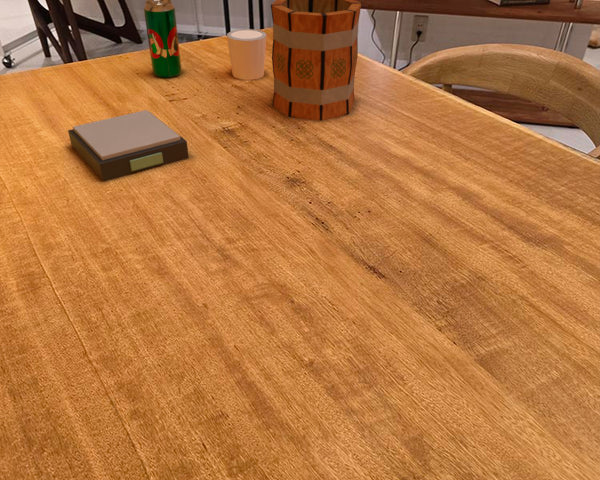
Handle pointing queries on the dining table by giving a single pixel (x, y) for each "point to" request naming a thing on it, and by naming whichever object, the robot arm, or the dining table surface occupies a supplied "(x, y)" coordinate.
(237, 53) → the white cup
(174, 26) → the soda can
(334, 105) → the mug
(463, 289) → the dining table surface
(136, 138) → the scale
